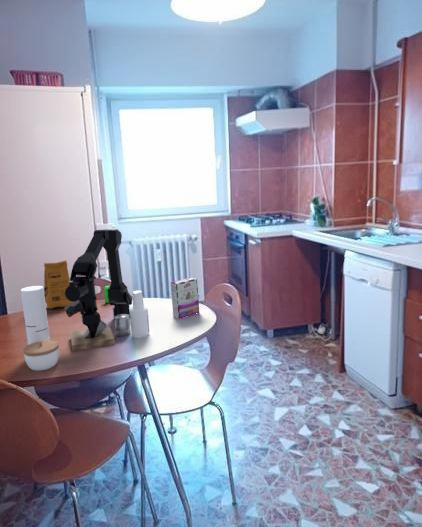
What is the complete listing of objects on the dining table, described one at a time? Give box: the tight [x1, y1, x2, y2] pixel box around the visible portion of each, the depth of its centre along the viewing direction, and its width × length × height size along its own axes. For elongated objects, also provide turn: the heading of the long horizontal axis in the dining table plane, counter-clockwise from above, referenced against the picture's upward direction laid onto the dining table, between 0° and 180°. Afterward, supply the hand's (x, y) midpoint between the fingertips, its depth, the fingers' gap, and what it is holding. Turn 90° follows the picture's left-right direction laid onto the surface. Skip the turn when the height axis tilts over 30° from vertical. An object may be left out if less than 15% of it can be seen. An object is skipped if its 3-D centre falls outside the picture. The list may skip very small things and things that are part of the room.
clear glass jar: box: [114, 314, 132, 338], centre depth 165 cm, size 6×6×8 cm
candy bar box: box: [170, 277, 200, 320], centre depth 184 cm, size 11×5×16 cm, turn 129°
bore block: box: [69, 325, 116, 352], centre depth 160 cm, size 15×15×3 cm
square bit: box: [84, 319, 108, 338], centre depth 160 cm, size 4×4×8 cm
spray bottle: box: [129, 290, 150, 339], centre depth 162 cm, size 7×7×18 cm
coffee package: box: [43, 260, 73, 309], centre depth 209 cm, size 10×12×22 cm
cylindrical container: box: [20, 285, 51, 345], centre depth 146 cm, size 7×7×25 cm
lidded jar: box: [22, 339, 60, 372], centre depth 139 cm, size 11×11×9 cm
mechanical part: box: [103, 285, 110, 304], centre depth 217 cm, size 12×6×8 cm, turn 168°
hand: (91, 333), depth 159 cm, fingers open, 9 cm apart
